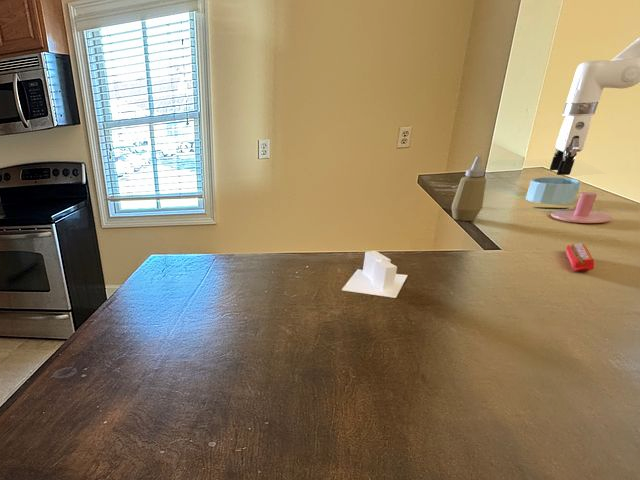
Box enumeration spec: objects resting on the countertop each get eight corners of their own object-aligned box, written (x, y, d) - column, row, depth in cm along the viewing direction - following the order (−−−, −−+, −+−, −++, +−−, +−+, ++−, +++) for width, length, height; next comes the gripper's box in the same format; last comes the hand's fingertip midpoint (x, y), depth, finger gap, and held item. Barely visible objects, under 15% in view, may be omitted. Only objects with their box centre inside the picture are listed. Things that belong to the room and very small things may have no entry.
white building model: (356, 269, 116) (360, 246, 113) (407, 275, 110) (412, 250, 108) (341, 290, 105) (344, 265, 102) (396, 298, 100) (401, 272, 97)
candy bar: (562, 252, 117) (566, 240, 115) (581, 253, 115) (586, 241, 113) (571, 273, 105) (576, 260, 103) (593, 275, 103) (598, 262, 102)
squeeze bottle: (443, 216, 151) (457, 155, 142) (470, 215, 151) (485, 153, 142) (456, 223, 144) (472, 159, 135) (484, 221, 144) (501, 157, 135)
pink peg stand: (601, 214, 142) (611, 188, 139) (618, 226, 131) (629, 199, 128) (545, 212, 147) (553, 188, 144) (557, 224, 136) (566, 198, 133)
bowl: (566, 201, 158) (574, 177, 154) (577, 209, 148) (587, 184, 144) (520, 200, 162) (527, 177, 158) (528, 208, 152) (536, 184, 149)
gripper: (605, 111, 133) (582, 177, 142) (586, 107, 147) (566, 167, 155) (572, 112, 136) (551, 177, 144) (556, 108, 149) (538, 168, 158)
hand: (559, 172), depth 150 cm, fingers open, 8 cm apart
